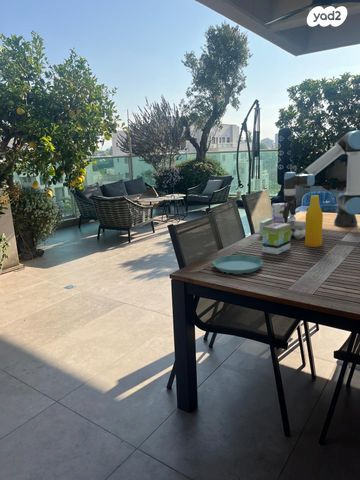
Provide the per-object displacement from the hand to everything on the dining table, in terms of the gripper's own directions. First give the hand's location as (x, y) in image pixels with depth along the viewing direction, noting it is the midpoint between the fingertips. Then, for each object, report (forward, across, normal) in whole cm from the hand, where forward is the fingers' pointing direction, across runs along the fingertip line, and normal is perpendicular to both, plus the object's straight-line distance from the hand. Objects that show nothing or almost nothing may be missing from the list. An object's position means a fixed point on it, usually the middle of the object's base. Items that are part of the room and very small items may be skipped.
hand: (289, 225), depth 245 cm
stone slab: (-3, +17, +10) cm, 20 cm away
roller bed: (+3, +17, +10) cm, 20 cm away
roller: (-1, 0, 0) cm, 1 cm away
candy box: (+4, -16, -11) cm, 20 cm away
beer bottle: (+4, +35, +26) cm, 44 cm away
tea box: (+4, +54, +11) cm, 55 cm away
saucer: (+4, +91, +5) cm, 91 cm away
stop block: (+3, +17, -10) cm, 20 cm away
